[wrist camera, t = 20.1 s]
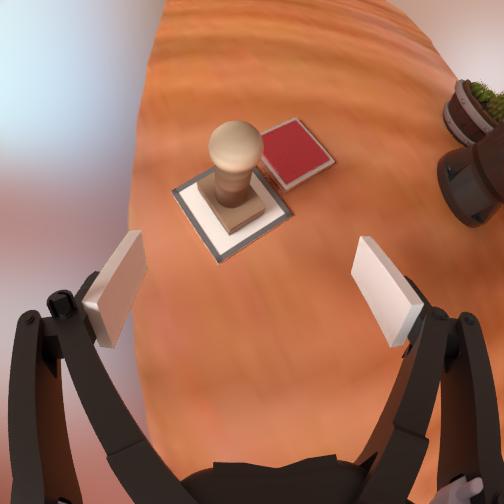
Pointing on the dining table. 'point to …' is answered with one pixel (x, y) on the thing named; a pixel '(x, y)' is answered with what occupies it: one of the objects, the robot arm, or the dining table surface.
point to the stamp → (233, 175)
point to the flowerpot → (472, 112)
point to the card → (212, 228)
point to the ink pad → (292, 155)
